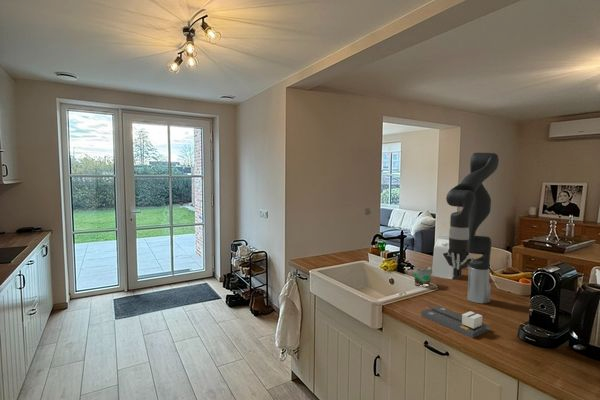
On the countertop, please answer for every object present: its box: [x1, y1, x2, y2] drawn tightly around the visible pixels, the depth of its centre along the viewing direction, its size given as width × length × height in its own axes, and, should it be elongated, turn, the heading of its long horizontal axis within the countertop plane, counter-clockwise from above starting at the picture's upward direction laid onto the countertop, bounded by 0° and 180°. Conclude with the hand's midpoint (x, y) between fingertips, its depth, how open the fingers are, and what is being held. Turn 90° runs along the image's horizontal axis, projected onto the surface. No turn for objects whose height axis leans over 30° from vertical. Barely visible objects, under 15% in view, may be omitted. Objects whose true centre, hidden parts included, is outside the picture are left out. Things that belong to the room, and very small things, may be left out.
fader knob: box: [461, 310, 483, 329], centre depth 132 cm, size 5×6×4 cm
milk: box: [431, 234, 455, 280], centre depth 204 cm, size 12×12×26 cm
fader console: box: [420, 305, 490, 339], centre depth 139 cm, size 24×12×2 cm, turn 32°
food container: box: [413, 266, 432, 287], centre depth 185 cm, size 12×6×10 cm, turn 117°
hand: (457, 277), depth 137 cm, fingers closed
